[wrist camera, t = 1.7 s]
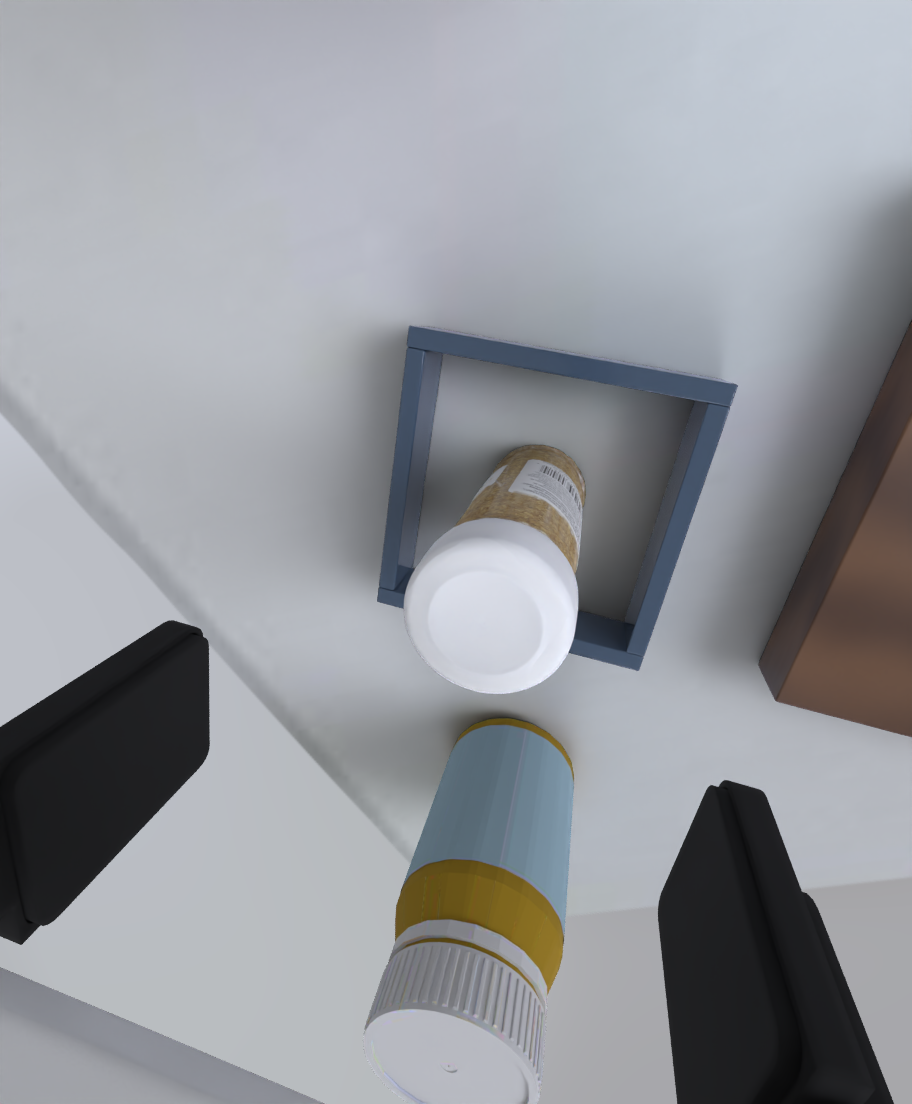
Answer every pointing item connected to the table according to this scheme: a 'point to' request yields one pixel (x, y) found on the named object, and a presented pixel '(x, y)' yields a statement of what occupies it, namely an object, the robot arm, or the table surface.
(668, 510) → the blue square frame
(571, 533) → the sprinkles bottle
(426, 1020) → the bottle
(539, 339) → the table surface
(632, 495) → the table surface
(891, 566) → the counter board
